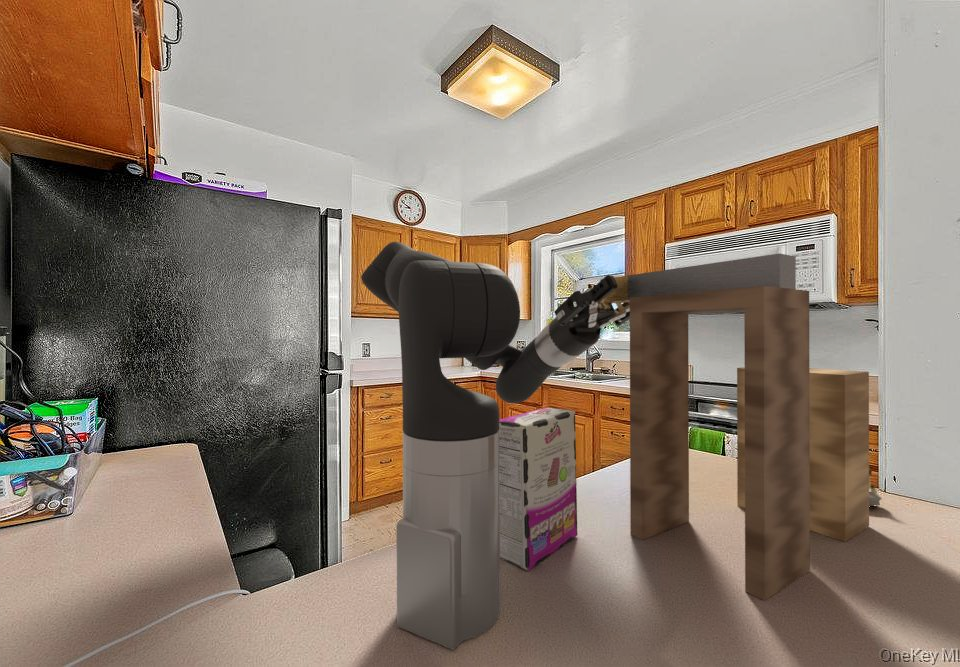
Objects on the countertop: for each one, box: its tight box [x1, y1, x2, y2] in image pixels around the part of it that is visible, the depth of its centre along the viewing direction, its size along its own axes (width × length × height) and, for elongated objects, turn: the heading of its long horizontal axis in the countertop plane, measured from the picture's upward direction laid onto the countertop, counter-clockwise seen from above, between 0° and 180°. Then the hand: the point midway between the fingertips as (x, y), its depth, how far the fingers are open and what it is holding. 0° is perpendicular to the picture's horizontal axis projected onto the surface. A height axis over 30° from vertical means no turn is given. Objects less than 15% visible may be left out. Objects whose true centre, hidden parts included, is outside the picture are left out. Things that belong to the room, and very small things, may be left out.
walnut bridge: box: [629, 286, 811, 601], centre depth 51 cm, size 10×16×31 cm, turn 31°
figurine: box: [869, 468, 882, 506], centre depth 64 cm, size 5×4×6 cm
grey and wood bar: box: [599, 253, 797, 304], centre depth 54 cm, size 24×4×4 cm, turn 31°
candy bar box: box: [499, 407, 579, 571], centre depth 52 cm, size 11×5×16 cm, turn 137°
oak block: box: [736, 366, 870, 543], centre depth 60 cm, size 13×8×21 cm, turn 31°
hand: (633, 281), depth 60 cm, fingers open, 8 cm apart
